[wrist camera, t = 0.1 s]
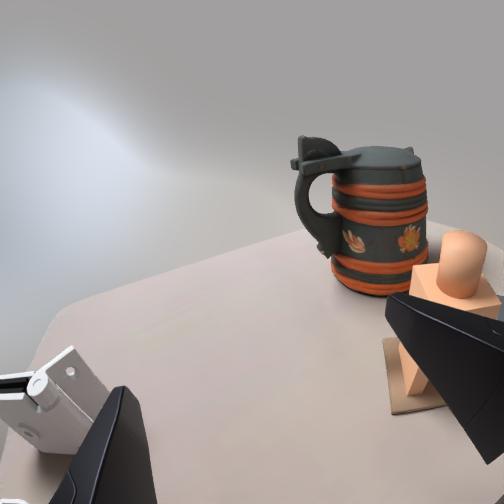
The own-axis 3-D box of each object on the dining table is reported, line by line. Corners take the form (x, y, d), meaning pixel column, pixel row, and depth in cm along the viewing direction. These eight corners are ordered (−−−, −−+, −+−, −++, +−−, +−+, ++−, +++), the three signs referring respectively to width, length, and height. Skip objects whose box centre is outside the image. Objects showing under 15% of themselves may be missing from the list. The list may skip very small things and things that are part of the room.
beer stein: (338, 328, 30) (325, 143, 21) (289, 270, 43) (266, 137, 33) (444, 273, 33) (454, 129, 24) (384, 235, 46) (379, 121, 36)
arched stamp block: (462, 385, 18) (515, 261, 11) (406, 396, 19) (445, 269, 13) (448, 340, 23) (478, 222, 16) (398, 347, 24) (416, 225, 18)
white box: (126, 405, 25) (75, 343, 20) (134, 444, 20) (72, 386, 16) (39, 431, 20) (-16, 377, 16) (39, 465, 16) (-25, 414, 11)
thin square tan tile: (476, 397, 16) (478, 394, 16) (391, 414, 19) (392, 412, 18) (454, 332, 24) (455, 329, 24) (382, 341, 26) (383, 338, 26)
